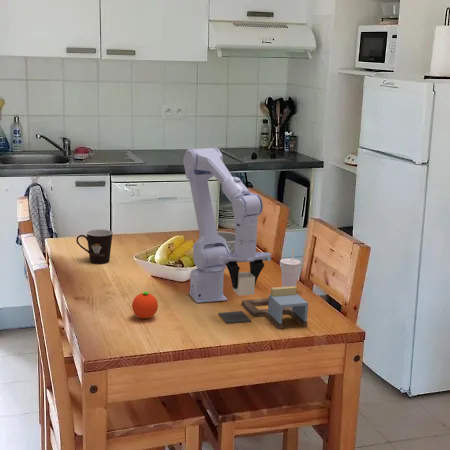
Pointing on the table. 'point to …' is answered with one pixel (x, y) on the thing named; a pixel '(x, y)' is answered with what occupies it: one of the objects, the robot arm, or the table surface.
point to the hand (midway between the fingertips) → (243, 287)
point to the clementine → (144, 305)
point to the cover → (286, 303)
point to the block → (245, 284)
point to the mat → (234, 317)
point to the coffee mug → (98, 245)
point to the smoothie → (289, 270)
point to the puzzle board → (255, 312)
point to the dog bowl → (227, 240)
